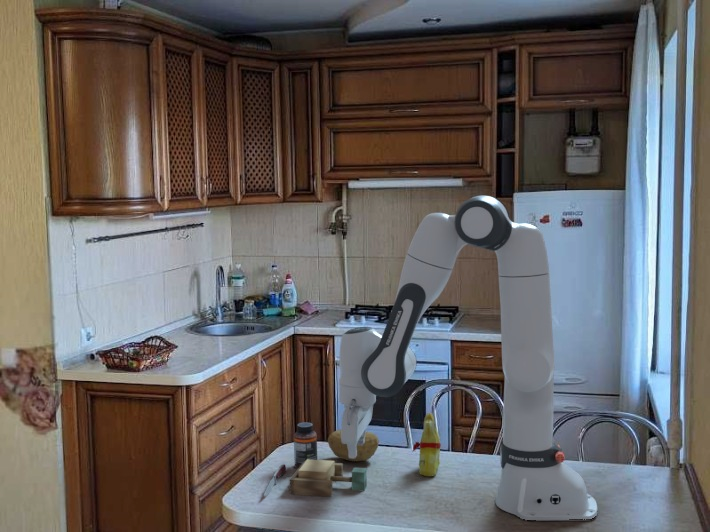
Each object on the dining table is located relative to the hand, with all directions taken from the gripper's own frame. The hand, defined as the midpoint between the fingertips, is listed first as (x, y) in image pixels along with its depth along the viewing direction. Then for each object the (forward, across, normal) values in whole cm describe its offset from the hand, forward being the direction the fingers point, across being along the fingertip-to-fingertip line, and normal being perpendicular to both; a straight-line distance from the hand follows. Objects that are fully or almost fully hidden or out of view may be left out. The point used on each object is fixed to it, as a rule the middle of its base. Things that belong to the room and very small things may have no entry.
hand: (356, 450), depth 197 cm
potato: (+10, +19, +5) cm, 22 cm away
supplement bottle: (+10, +12, +16) cm, 22 cm away
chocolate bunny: (+9, +15, -15) cm, 23 cm away
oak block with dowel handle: (+9, 0, +5) cm, 11 cm away
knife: (+10, -2, +20) cm, 22 cm away
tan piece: (+9, 0, +9) cm, 13 cm away
